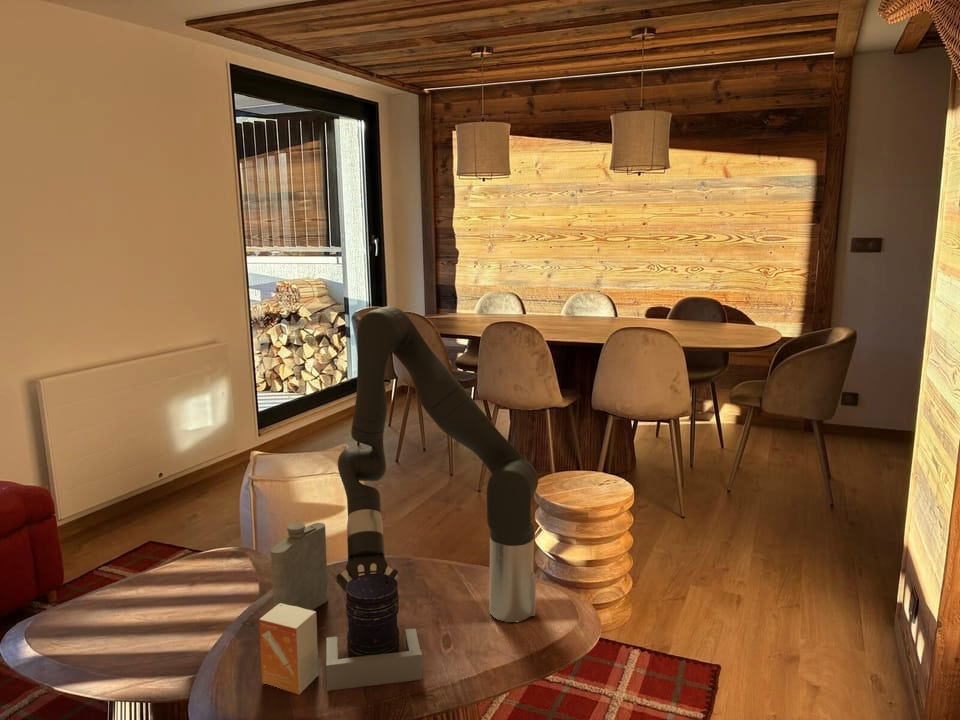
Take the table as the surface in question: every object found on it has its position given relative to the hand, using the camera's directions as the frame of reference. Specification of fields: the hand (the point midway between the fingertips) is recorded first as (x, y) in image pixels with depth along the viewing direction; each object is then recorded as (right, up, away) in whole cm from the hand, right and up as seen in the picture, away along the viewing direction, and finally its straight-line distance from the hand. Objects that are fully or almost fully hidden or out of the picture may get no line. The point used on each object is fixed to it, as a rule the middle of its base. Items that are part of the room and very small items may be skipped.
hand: (369, 620), depth 143 cm
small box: (-13, -7, -11) cm, 18 cm away
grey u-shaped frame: (+2, -6, -7) cm, 10 cm away
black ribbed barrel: (+2, -6, -4) cm, 7 cm away
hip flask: (-16, -3, +11) cm, 20 cm away
